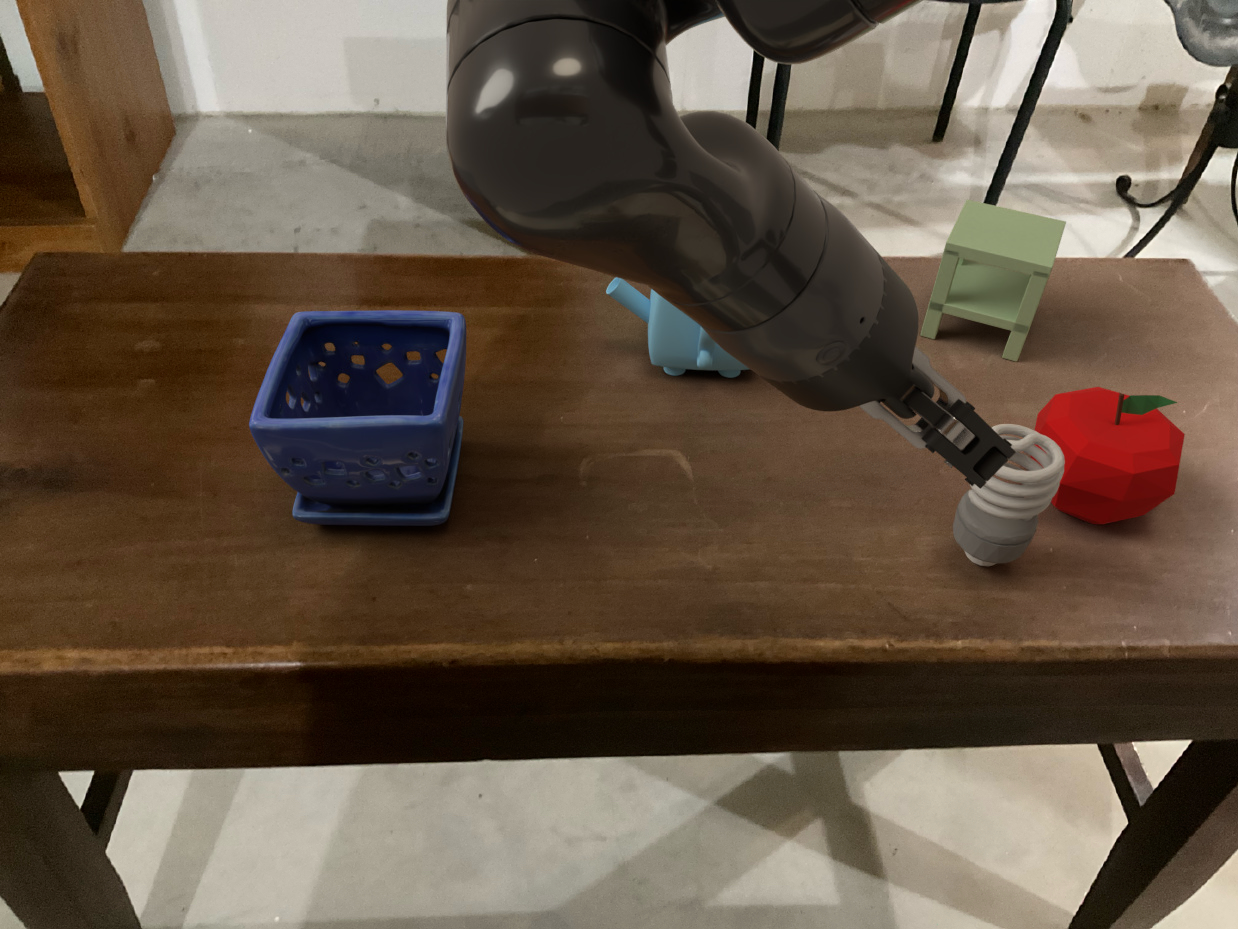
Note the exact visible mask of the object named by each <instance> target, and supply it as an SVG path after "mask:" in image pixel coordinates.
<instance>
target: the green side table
mask: <svg viewBox="0 0 1238 929" xmlns="http://www.w3.org/2000/svg"><path fill="white" fill-rule="evenodd" d="M1066 224H1067V221H1066V220H1061V219H1057V218H1052V217H1048V216H1043V215H1038V214H1034V213H1030V212H1026V211H1020V210H1017V209H1011V208H1007V207H1003V206H997V205H994V204H989V203H984V202H980V201H975V200H971V199H966V200H965V201H964V204H963V206H962V208H961V210H960V212H959V214H958V216H957V219H956V221H955V223H954V225H953V227H952V229H951V231H950V234H949V236H948V238H947V240H946V242H945V245H944V249H943V251H942V256H941V259H940V263H939V267H938V269H937V273H936V277H935V280H934V284H933V288H932V292H931V295H930V299H929V301H928V305H927V308H926V313H925V316H924V319H923V323H922V327H921V331H920V335H919V336H920V337H923V338H927V339H931V340H935V339H936V337H937V334H938V333H939V329H940V326H941V322H942V319H943V316H944V314H945V315H948V316H949V315H950V316H954V317H957V318H959V319H960V318H961V319H965V320H969V321H973V322H976V323H980V324H984V325H987V326H992V327H995V328H999V329H1003V330H1007V331H1010V333H1009V337H1008V339H1007V342H1006V344H1005V347H1004V350H1003V353H1002V356H1001V358H1002V359H1005V360H1010V361H1011V362H1012V361H1013V362H1016V363H1017V362H1019V361H1018V360H1019V359H1020V356H1021V354H1022V350H1023V348H1024V345H1025V343H1026V340H1027V337H1028V335H1029V332H1030V329H1031V326H1032V324H1033V321H1034V319H1035V316H1036V313H1037V311H1038V308H1039V306H1040V302H1041V300H1042V297H1043V295H1044V292H1045V289H1046V286H1047V283H1048V281H1049V278H1050V276H1051V273H1052V270H1053V267H1054V265H1055V261H1056V257H1057V255H1058V251H1059V248H1060V244H1061V241H1062V238H1063V235H1064V231H1065V227H1066Z"/></svg>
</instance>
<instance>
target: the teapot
mask: <svg viewBox="0 0 1238 929" xmlns="http://www.w3.org/2000/svg"><path fill="white" fill-rule="evenodd" d="M605 292H606V293H605V294H607V296H609V297H610V298H612V299H613V300H615V301H616V302H617V303H619V305H621V306H623V307H624V308H625V309H627V310H629V311H630V312H631V313H633V314H634V315H635V316H636V317H638V318H640V319H641V320H642V321H643V322H645V323H647V344H648V345H647V346H648V353H649V359H650V363H651V365H653V366H655V367H662V368H663V371H664V372H665V373H666V374H667V375H670V376H681V375H683V374H684V373H685V372H686V370H694V371H695V370H696V371H717V372H718V373H719V374H720V375H721V376H722V377H724V378H731V379H732V378H736V377H738V376H740V374H741V371H746V370H747V371H748V370H750V369H749V368H748V367H747V366H745V365H744V364H742V363H741V362H740V361H738V360H737V359H735V358H734V357H733V356H731V355H730V354H729V353H727V352H726V351H725V350H724V349H722V348H721V347H720V346H719V345H718V344H717V343H716V342H715V341H714V340H713V339H712V338H711V337H710V336H709V335H708V334H707V333H706V332H705V330H704V329H703V328H702V327H701V326H700V325H699V324H698V323H696V322H695V321H694V320H692V319H691V318H690V317H688V316H687V315H686V314H684V313H683V312H681V311H680V310H679V309H677V308H676V307H675V306H673V305H672V304H671V303H669V302H668V301H667V300H665V299H664V298H663V297H661V296H660V295H659V294H657V293H656V292H655V291H654V290H652V289H651V288H650V296H649V298H648V297H646V296H645V295H644V294H643V293H641V292H640V291H639V290H638V289H636V288H635V287H634V286H633V285H631V284H630V283H629V282H628V281H627V280H625V279H621V278H617V277H614V278H613V280H611V282H610V283H609V284H608V286H607V288H606V290H605Z"/></svg>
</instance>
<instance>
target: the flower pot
mask: <svg viewBox="0 0 1238 929" xmlns="http://www.w3.org/2000/svg"><path fill="white" fill-rule="evenodd" d="M466 322H467V321H466V318H465V316H464V315H463V313H461V312H455V311H441V310H440V311H439V310H398V309H397V310H395V309H394V310H393V309H391V310H390V309H389V310H386V309H385V310H311V311H309V310H308V311H307V310H306V311H298V312H294V314H293V315H292V316H291V318H290V321H289V322H288V324H287V326H286V328H285V330H284V332H283V335H282V336H281V339H280V341H279V343H278V346H277V347H276V349H275V352H274V354H273V356H272V358H271V360H270V363H269V365H268V367H267V370H266V372H265V375H264V378H263V380H262V382H261V385H260V387H259V389H258V390H259V391H258V393H257V396H256V398H255V401H254V405H253V408H252V411H251V414H250V418H249V422H248V427H249V431H250V433H251V436H252V438H253V440H254V442H255V444H256V446H257V448H258V449H259V451H260V453H261V454H262V456H263V458H264V459H265V460H266V462H267V463H268V464H269V466H270V467H271V469H272V470H273V471H274V472H275V473H276V475H277V476H279V478H280V479H282V480H283V481H284V482H285V484H287V485H288V486H289V487H290V488H292V489H293V490H294V491H295V492H297V493H296V496H295V499H294V502H293V506H292V511H291V512H292V513H291V515H292V518H293V519H294V520H296V521H298V522H301V523H304V524H309V525H322V526H323V525H324V526H325V525H326V526H397V527H398V526H401V527H405V526H406V527H408V526H409V527H415V526H416V527H425V526H426V527H429V526H438V525H439V526H440V525H441V524H444V523H445V522H446V521H447V520H448V519H449V516H450V512H451V507H452V503H453V496H454V490H455V485H456V479H457V473H458V467H459V460H460V456H461V448H462V442H463V434H464V418H463V417H462V416H461V415H460V414H461V409H462V400H463V393H464V386H465V377H466V376H465V375H466V362H467V323H466ZM326 344H332V345H333V347H334V350H328V349H327V348H326ZM384 345H389V346H391V347H390V348H389V349H387V348H385V347H384ZM444 350H446V353H445V356H444V360H443V362H442V360H441V359H440V357H439V356H438V354H437V353H439V352H441V351H444ZM415 352H416V353H418V354H419V358H420V359H409V357H408V353H415ZM353 356H361V357H363V362H364V364H361V363H355V362H354V361H353V360H352V357H353ZM320 363H323V364H324V365H321V364H320ZM390 363H391V364H392V365H394V367H395V368H396V369H397V370H398V371H399V372H400V373H401V374H402V375H401V377H399V378H397V379H396V380H394V381H392V382H390V383H387V382H386V381H385V379H383V378H382V376H380V374H379V373H378V372H377V371H378V370H379V369H381V368H382V367H383V366H386V365H387V364H390ZM341 374H344V375H346V376H347V377H349V378H348V380H347V382H343V381H341V380H339V377H340V375H341ZM432 375H437V378H435V377H433V376H432ZM287 394H288V397H289V401H287ZM302 400H303V404H302Z"/></svg>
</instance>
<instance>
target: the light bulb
mask: <svg viewBox="0 0 1238 929" xmlns="http://www.w3.org/2000/svg"><path fill="white" fill-rule="evenodd" d="M991 428H992V429H993V430H994V431H995V432H996V433H997V434H998V435H999V436H1000V437H1001V438H1002V439H1004V438H1005V439H1006V440H1007V441H1009V442H1010V443H1011V444H1012V446H1011V448H1012V449H1013V450H1014V451H1015V452H1016V453H1015V454H1014V455H1013V456H1012V457H1011V458H1010V459H1008V458H1007V459H1008V462H1006V463H1005V464H1004V465H1003V466H1002V467H1001V468H1000V469H999V470H998V471H997V472H996V473H995V474H994V475H993V476H992V477H991V479H990V480H989V481H986V482H987V483H986V484H985V485H984V486H983V487H982V488H981V489H980V488H979V487H977V486H976V485H975V484H974V485H973V486H971V485H970V484H969V486H970V488H971V489H969V490H967V491H966V492H964V494H963V495H962V496H961V498H960V501H958V504H957V506H956V510H955V515H954V517H953V518H954V519H953V523H952V532H953V537H954V539H955V542H956V544H957V545H958V546H959V547H960V548H961V549H962V550H963V551H964V554H965V555H966V557H967V558H968V559H969V560H970V561H971V562H972V563H974V564H975V565H978V566H981V567H991V566H995V565H997V564H1008V563H1011V562H1014V561H1016V560H1017V559H1020V558H1021V557H1022V555H1023V554H1024V553H1025V552H1026V550H1027V548H1029V545H1030V543H1031V542H1032V540H1033V539H1034V537H1035V535H1036V532H1037V528H1038V524H1039V516H1038V515H1039V514H1041V513H1042V512H1044V511H1045V510H1046V509H1047V508H1048V507H1049V506H1050V504H1051V500H1052V498H1053V497H1054V496H1055V494H1056V492H1057V490H1058V488H1059V484H1060V480H1061V479H1062V476H1063V473H1064V464H1065V460H1064V455H1063V452H1062V450H1061V448H1060V447H1059V446H1058V445H1057V444H1056V443H1055V442H1054V441H1053V440H1052V439H1050V438H1048V437H1047V436H1045V435H1042V434H1040V433H1038V432H1036V431H1034V430H1035V429H1032V428H1029V427H1027V426H1024V425H1020V424H1013V423H1001V424H996V425H994V426H992V427H991ZM1011 435H1013V436H1011ZM1016 436H1017V437H1016ZM1020 437H1021V438H1020ZM1034 444H1035V445H1038V446H1040V447H1041V448H1042V449H1043V450H1044V451H1045V452H1046V453H1047V454H1048V455H1047V454H1046V453H1045V452H1044V451H1043V450H1041V449H1040V448H1038V447H1037V446H1035V445H1034ZM1022 452H1024V453H1022ZM1026 454H1027V455H1026ZM1030 455H1031V456H1032V457H1034V458H1035V459H1036V460H1037V461H1038V462H1039V463H1040V464H1041V465H1042V466H1043V467H1042V466H1041V465H1040V464H1038V463H1037V462H1036V461H1035V460H1033V459H1032V458H1030ZM1009 461H1010V462H1013V463H1015V464H1017V465H1019V466H1021V467H1023V468H1024V469H1026V470H1024V469H1022V468H1020V467H1018V466H1016V465H1014V464H1012V463H1009ZM1043 468H1044V469H1043ZM995 476H996V477H997V478H996V477H995ZM999 478H1001V479H1003V480H1004V481H1003V480H1001V479H999ZM1005 480H1007V481H1010V482H1013V483H1010V482H1006V481H1005ZM1038 482H1039V483H1038ZM1017 483H1020V484H1017Z"/></svg>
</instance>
